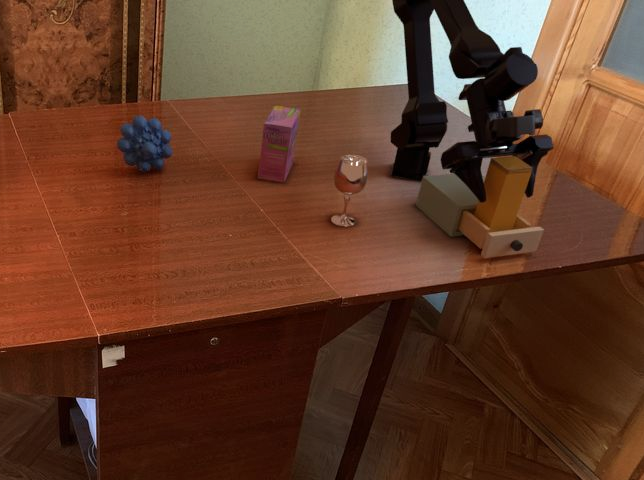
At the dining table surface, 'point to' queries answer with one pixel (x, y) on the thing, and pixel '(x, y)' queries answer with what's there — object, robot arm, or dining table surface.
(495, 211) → the carton
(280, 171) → the box
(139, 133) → the blue knobby rounded piece
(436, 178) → the cabinet
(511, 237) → the drawer
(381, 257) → the dining table surface
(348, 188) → the wineglass
